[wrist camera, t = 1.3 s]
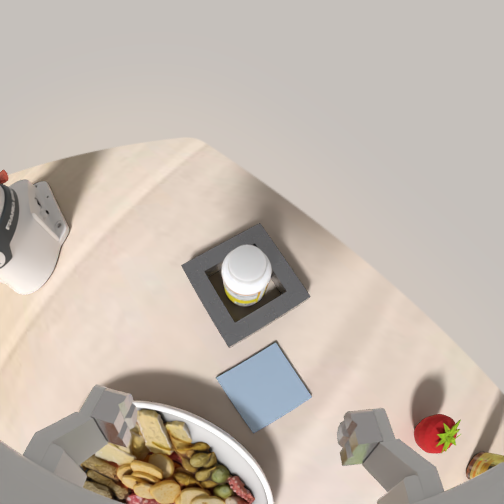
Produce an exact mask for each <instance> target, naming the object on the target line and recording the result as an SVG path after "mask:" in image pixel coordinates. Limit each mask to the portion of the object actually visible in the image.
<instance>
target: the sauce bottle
mask: <svg viewBox="0 0 504 504" xmlns="http://www.w3.org/2000/svg"><path fill="white" fill-rule="evenodd" d="M502 462H504V456H502V455H498V454H493V453H488V452H487V453H485V452H480V453H478V454H476V455H475V456H474V457H473V459H472V460H471V461H470V463H469V465H468V467H467V471H466V476H467V478H468V479H472V478H474V477H476V476H478V475H480V474H482V473H484V472H485V471H487V470H489V469H491V468H492V467H494V466H496V465H498V464H499V463H502Z"/></svg>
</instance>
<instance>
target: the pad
mask: <svg viewBox="0 0 504 504" xmlns="http://www.w3.org/2000/svg"><path fill="white" fill-rule="evenodd" d="M216 379H217V380H218V382H219V383H220V385H221V387H222V388H223V390H224V391H225V393H226V394H227V396H228V397H229V399H230V400H231V402H232V403H233V405H234V406H235V408H236V409H237V411H238V412H239V414H240V415H241V416H242V418H243V419H244V421H245V422H246V424H247V425H248V426H249V428H250V429H251V431H252V432H253V433H255V432H257V431H258V430H260V429H262V428H264V427H265V426H267V425H269V424H271V423H272V422H274V421H276V420H277V419H279V418H280V417H282V416H284V415H285V414H287V413H288V412H290V411H292V410H293V409H295V408H296V407H298V406H299V405H301V404H302V403H304V402H305V401H307V400H308V399H310V398H311V397H312V396H311V395H310V393H309V392H308V390H307V389H306V387H305V386H304V384H303V383H302V381H301V380H300V378H299V377H298V375H297V374H296V372H295V371H294V369H293V368H292V366H291V365H290V363H289V362H288V360H287V359H286V357H285V356H284V354H283V353H282V351H281V350H280V348H279V347H278V345H277V344H276V342H275V343H274V344H272V345H271V346H269V347H267V348H266V349H264V350H263V351H261V352H259V353H258V354H256V355H254V356H253V357H251V358H249V359H248V360H246V361H244V362H243V363H241V364H239V365H238V366H236V367H234V368H232V369H231V370H229V371H227V372H225V373H224V374H222V375H220V376H218V377H216Z"/></svg>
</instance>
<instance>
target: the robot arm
mask: <svg viewBox="0 0 504 504" xmlns="http://www.w3.org/2000/svg"><path fill="white" fill-rule="evenodd" d="M6 181H8V175H7V173H6V171H5V170H2V171H1V172H0V282H1V283H3V284H7V285H8V286H9V287H10V288H11V289H13V290H14V291H15V292H16V293H19V294H23V295H25V294H30V293H33V292H35V291H36V290H38V289H39V288H40V287H41V286H42V285H43V284H44V283H45V282H46V281H47V280H48V278H49V277H50V275H51V273H52V272H53V270H54V267H55V265H56V262H57V259H58V255H59V251H60V248H61V245H62V244H63V242H64V241H65V239H66V237H67V235H68V233H69V227H68V225H67V223H66V221H65V219H64V217H63V215H62V213H61V210H60V208H59V206H58V204H57V202H56V200H55V198H54V195H53V193H52V191H51V188H50V186H49V184H48V183H47V182H46V181H41V182H38V183H35V184H32V183H31V182H30V181H29V180H20V181H17V182H15V183H14V184H12V185H10V186H9V187H7V186H5V185H3V183H5V182H6ZM60 226H61V227H60ZM59 227H60V228H59ZM132 402H133V397H132V395H131V394H129V393H125V392H121V391H118V390H114V389H111V388H108V387H104V386H101V385H95V386H94V387H93V389H92V390H91V392H90V394H89V396H88V397H87V399H86V401H85V403H84V404H83V406H82V408H81V410H80V412H79V413H78V412H75V413H73V414H71V415H69V416H67V417H65V418H63V419H61V420H59V421H58V422H56V423H54V424H52V425H50V426H48V427H46V428H44V429H42V430H40V431H38V432H36V433H35V434H34V436H33V438H32V439H31V441H30V443H29V445H28V446H27V448H26V450H25V452H24V454H23V455H21V454H20V453H18V452H17V451H15V450H14V449H12V448H11V447H9V446H8V445H7V444H5V443H4V442H2V441H1V440H0V504H124V503H121V502H118V501H116V500H113V499H110V498H107V497H105V496H102V495H99V494H97V493H94V492H92V491H90V490H87V489H85V488H83V486H84V483H85V481H86V478H87V475H86V473H85V472H84V471H83V470H82V469H81V468H80V467H79V465H80V464H81V463H83V462H84V461H85V460H87V459H88V458H89V457H91V456H92V455H93V454H95V453H96V452H97V451H99V450H100V449H101V448H103V447H104V446H105V445H107V444H108V442H109V443H112V444H116V445H119V446H123V447H126V448H127V446H128V443H129V441H130V438H131V433H130V429H132V428H134V427H135V425H136V422H137V416H138V413H137V408H136V406H135V405H134V404H133V403H132ZM337 439H338V444H339V445H340V446H341V447H343V448H342V450H341V452H340V456H341V461H342V466H346V465H355V464H362V465H363V466H364V467H365V468H366V470H367V471H368V472H369V473H370V474H371V475H372V476H373V477H374V478H375V479H376V480H377V481H378V482H379V483H380V484H381V486H382V487H383V488H384V489H385V490H386V491H387V493H386V494H384V495H383V496H382V497H380V498H379V499H378V501H377V504H504V462H502V463H499V464H498V465H496V466H494V467H492V468H491V469H489V470H487V471H485V472H484V473H482V474H480V475H478V476H476V477H474V478H472V479H470V480H468V481H466V482H464V483H462V484H460V485H458V486H456V487H453V488H451V489H449V490H447V491H444V489H443V486H442V483H441V480H440V477H439V474H438V471H437V469H436V467H435V466H434V465H432V464H431V463H430V462H428V461H427V460H426V459H424V458H423V457H422V456H420V455H419V454H418V453H416V452H415V451H414V450H413V449H411V448H410V447H409V446H407V445H406V444H405V443H403V442H402V441H401V440H400V439H395V436H394V433H393V431H392V428H391V425H390V422H389V419H388V417H387V414H386V411H385V409H384V408H378V409H367V410H358V411H348V412H346V413H345V415H344V421H343V422H341V423H340V425H339V427H338V432H337Z"/></svg>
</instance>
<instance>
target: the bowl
mask: <svg viewBox="0 0 504 504" xmlns="http://www.w3.org/2000/svg"><path fill="white" fill-rule="evenodd" d="M132 403H133V404H134V405H135V406H136V408H137V413H138V416H137V422H136V425H135V427H134V428H132V429H130V433H131V438H130V441H129V443H128V446H127V448H126V447H123V446H119V445H116V444H112V443H109V442H108V444H107V445H105V446H104V447H103V448H101V449H100V450H99V451H97V452H96V453H95V454H93V455H92V456H91V457H89V458H88V459H87V460H85V461H84V462H83V463H81V464H80V465H79V467H80V468H81V469H82V470H83V471H84V472H85V473H86V475H87V478H86V481H85V483H84V486H83V488H85V489H87V490H90V491H92V492H94V493H97V494H99V495H102V496H105V497H107V498H110V499H113V500H116V501H118V502H121V503H124V504H274V500H273V495H272V491H271V488H270V485H269V483H268V480H267V478H266V476H265V474H264V472H263V470H262V469H261V467H260V466H259V464H258V463H257V461H256V460H255V459H254V458H253V456H252V455H251V454H250V453H249V452H248V451H247V450H246V449H245V448H244V447H243V446H242V445H241V444H240V443H239V442H238V441H237V440H236V439H235V438H233V437H232V436H231V435H229V434H228V433H227V432H225V431H224V430H222V429H221V428H219V427H218V426H216V425H215V424H213V423H211V422H209V421H207V420H205V419H203V418H202V417H199V416H197V415H195V414H193V413H190V412H188V411H185V410H182V409H179V408H176V407H173V406H169V405H165V404H161V403H156V402H149V401H136V400H133V402H132Z"/></svg>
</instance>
